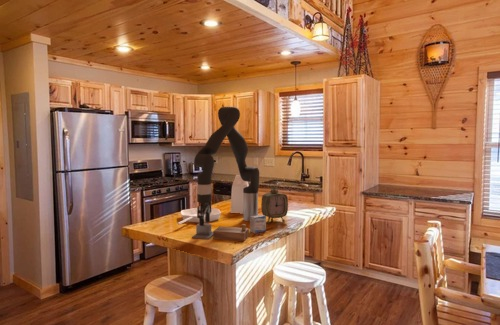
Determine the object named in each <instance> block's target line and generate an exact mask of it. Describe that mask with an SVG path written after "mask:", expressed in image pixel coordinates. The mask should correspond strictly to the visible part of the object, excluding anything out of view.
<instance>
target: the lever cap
mask: <svg viewBox="0 0 500 325" xmlns="http://www.w3.org/2000/svg"><path fill="white" fill-rule="evenodd" d="M195 227H196V228H195V229H196V231H195V233H196V235H208V236H209V235H211V232H212V224H211V223H210V222H204V226H200V225H199V223H197V224H196V226H195Z"/></svg>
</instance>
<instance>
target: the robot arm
mask: <svg viewBox="0 0 500 325" xmlns="http://www.w3.org/2000/svg"><path fill="white" fill-rule="evenodd" d="M217 117H218V121H219V122H220V124H221V126H220V127H219V128H218V129H216V130H215V131H214V132H213V133H211V135H210V136H209V138H208V140H206V141H207V142H206V143H205V144H204V146H203V147H202V148H201V149H200V150H199V151H198V152H197V153H196V155H195V157H194V161H193V162H194V165H195V166H196V167H197V168H201V169H202V171H201V172H198V174H197V180H196V181H197V185H196V186H197V187H196V202H197V203H199V205H197V207H196V208H197V218H199V223H198V224H199V225H200V226H204V223H210V222H211V221H210V213H211V208H212V201H213V200H212V199H213V198H212V196H213V195H212V194H213V191H212V190H213V189H212V173H213V169H214V166H215V159H214V157H213V155H215V154H217V152H218V151H219V149H220V147H221V145H222V143H223V142H224V140H225V138H227V140H228V142H229V145H230V148H231V150H232V153H233V155H234V159H235V161H236V164H237V168H238V172H239V175H240V176H241V178H242V180H243V181H248V183H249V182H250V183H249V186H248V187H245V188H244V189H243V214H242V217H243V218H242V220H243V221H245V222H250V216H257V215H259V189H260V188H259V187H260V169H259V168H258V167H257V166H248V165H247V163H246V158H247V155H248V152H249V148H248V144H247V142H246V139H245V137H244V136H243V135H242V134H241V133H240V132H239V130H237V129H236V128H235V126H236V125H237V123H238V122H239V119H240V117H241V113H240V110H239V108H238V107H236V106H222V107H219V109H218V110H217ZM205 214H206V215H205ZM204 215H205V221H206V222H204ZM209 221H210V222H209Z"/></svg>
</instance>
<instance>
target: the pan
mask: <svg viewBox="0 0 500 325" xmlns="http://www.w3.org/2000/svg"><path fill="white" fill-rule="evenodd" d="M180 215H181V217H182V219H183V220H181V221H179V222H177V223H176V224H177V225H179V226H180V225H181V224H183V223H185V222H186V223H187V222H188V223H197V224H199V218H197V207H193V208H187V209H182V210H180ZM205 215H206V214H205ZM205 215H204V223H207V222H206V221H205ZM221 215H222V213H221V210H220V209H219V208H212V207H211V213H210V221H209V222H208V223H210V222H215V221H218V220H219V218H220V217H221Z"/></svg>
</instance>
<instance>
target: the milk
mask: <svg viewBox="0 0 500 325" xmlns="http://www.w3.org/2000/svg"><path fill="white" fill-rule="evenodd" d="M248 186H250V183H249V182H248V181H243V180H242V178H241V176H240V174H235V177H234V180H233V182H232V185H231V194H230V195H231V198H230V213H240V214H239V215H243V189H244V188H245V187H248Z"/></svg>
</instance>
